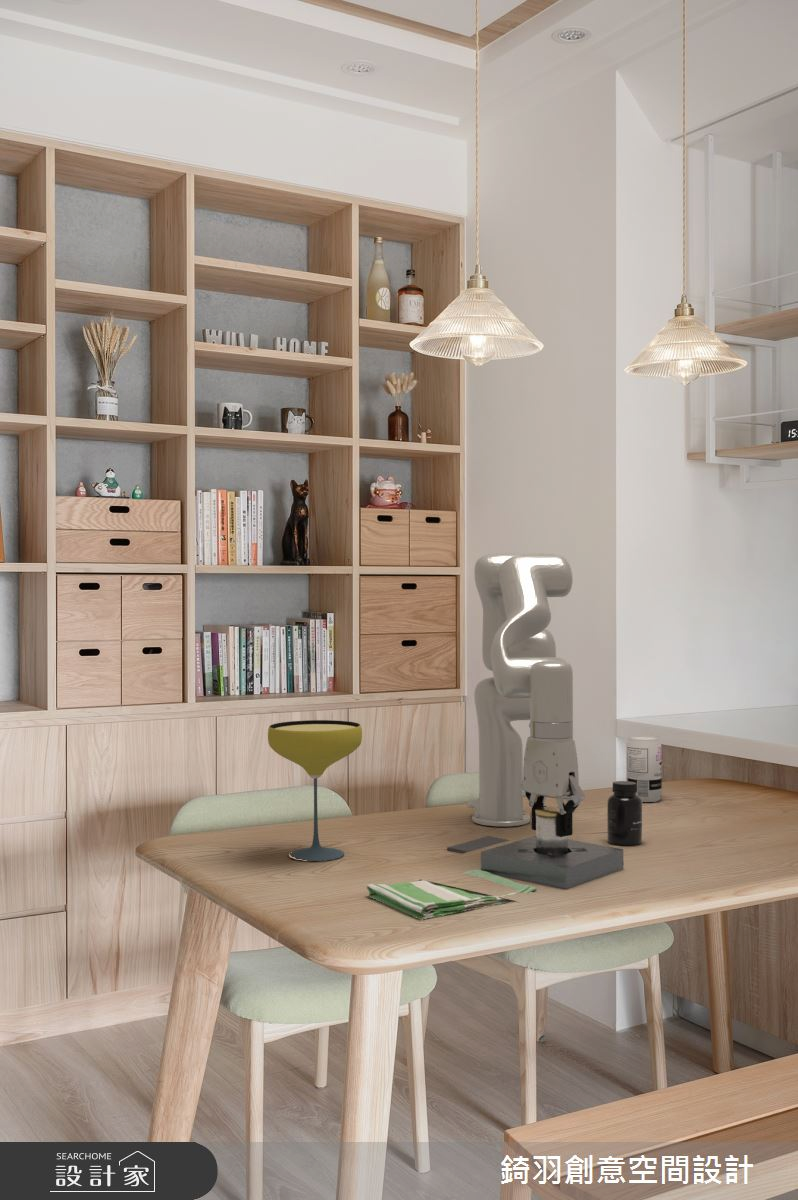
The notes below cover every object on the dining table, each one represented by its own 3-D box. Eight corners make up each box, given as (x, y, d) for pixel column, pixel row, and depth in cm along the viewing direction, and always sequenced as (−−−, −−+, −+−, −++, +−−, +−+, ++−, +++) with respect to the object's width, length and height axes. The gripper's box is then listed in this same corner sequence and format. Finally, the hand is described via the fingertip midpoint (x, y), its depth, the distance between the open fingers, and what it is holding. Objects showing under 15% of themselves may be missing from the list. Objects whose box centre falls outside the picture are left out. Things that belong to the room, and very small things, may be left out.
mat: (447, 850, 218) (447, 847, 218) (488, 839, 227) (488, 836, 227) (500, 860, 209) (500, 857, 209) (540, 848, 219) (540, 845, 219)
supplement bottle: (642, 847, 219) (642, 786, 219) (607, 845, 221) (606, 785, 221) (642, 839, 226) (641, 780, 226) (607, 838, 228) (607, 779, 227)
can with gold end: (528, 856, 199) (528, 809, 199) (552, 851, 202) (552, 805, 202) (551, 862, 194) (551, 814, 194) (575, 857, 198) (575, 810, 197)
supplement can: (622, 797, 272) (621, 736, 271) (655, 796, 272) (654, 735, 272) (632, 803, 264) (632, 740, 263) (666, 802, 264) (666, 739, 264)
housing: (481, 876, 197) (480, 851, 197) (540, 858, 211) (540, 834, 211) (566, 895, 185) (566, 868, 185) (623, 874, 199) (623, 849, 198)
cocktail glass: (270, 845, 223) (268, 720, 222) (360, 843, 224) (359, 719, 224) (267, 868, 205) (266, 732, 204) (365, 865, 206) (364, 730, 206)
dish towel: (539, 900, 184) (539, 884, 184) (423, 925, 171) (423, 907, 171) (474, 877, 199) (474, 862, 199) (362, 898, 186) (362, 882, 186)
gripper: (503, 727, 203) (503, 826, 203) (570, 738, 189) (571, 844, 189) (534, 724, 207) (534, 821, 207) (601, 734, 193) (602, 838, 193)
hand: (551, 831), depth 198 cm, fingers closed on can with gold end, 5 cm apart
